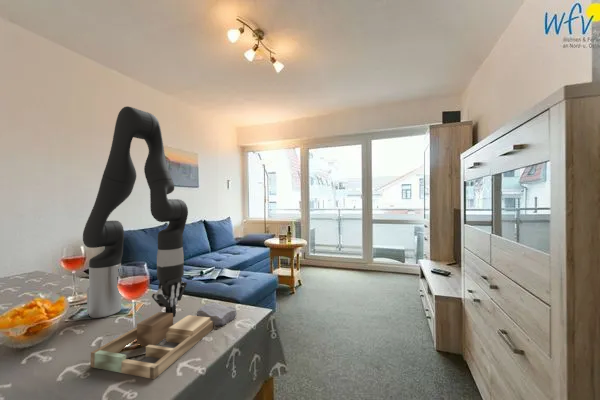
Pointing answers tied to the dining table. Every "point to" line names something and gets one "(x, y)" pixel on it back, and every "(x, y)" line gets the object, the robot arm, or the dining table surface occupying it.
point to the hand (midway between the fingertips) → (170, 317)
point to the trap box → (152, 349)
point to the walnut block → (154, 328)
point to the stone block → (217, 313)
